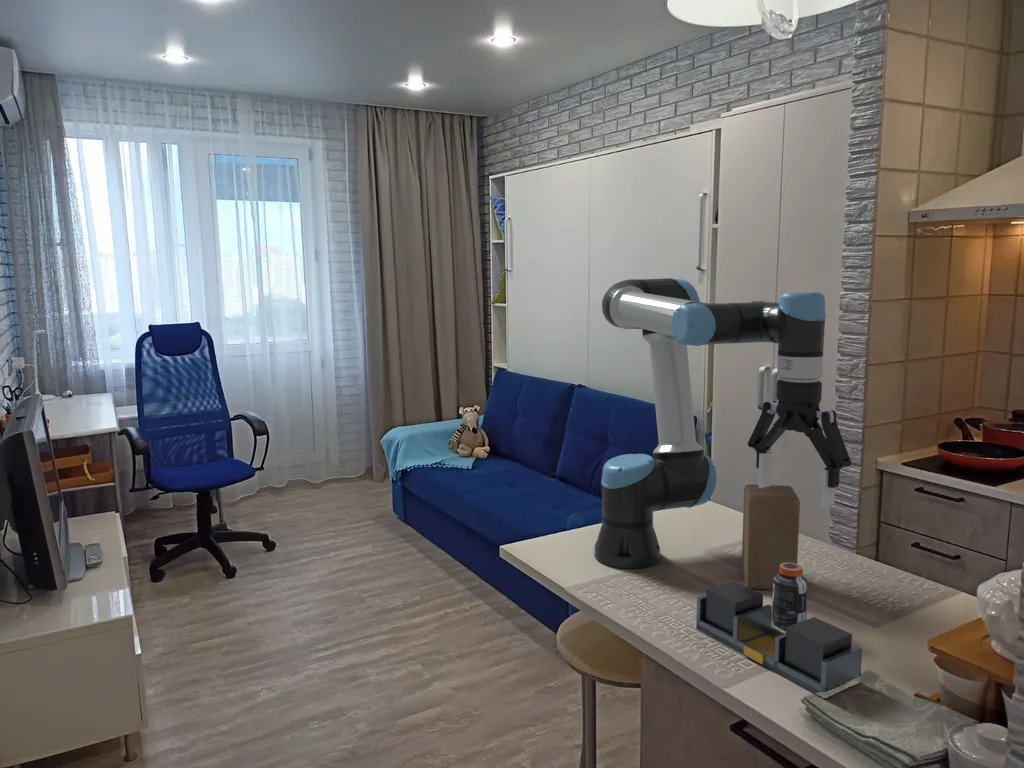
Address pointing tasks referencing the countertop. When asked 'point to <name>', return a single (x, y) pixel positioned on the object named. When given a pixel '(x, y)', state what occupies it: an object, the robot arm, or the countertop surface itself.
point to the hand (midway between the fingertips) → (794, 495)
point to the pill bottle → (789, 596)
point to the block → (768, 533)
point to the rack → (779, 639)
